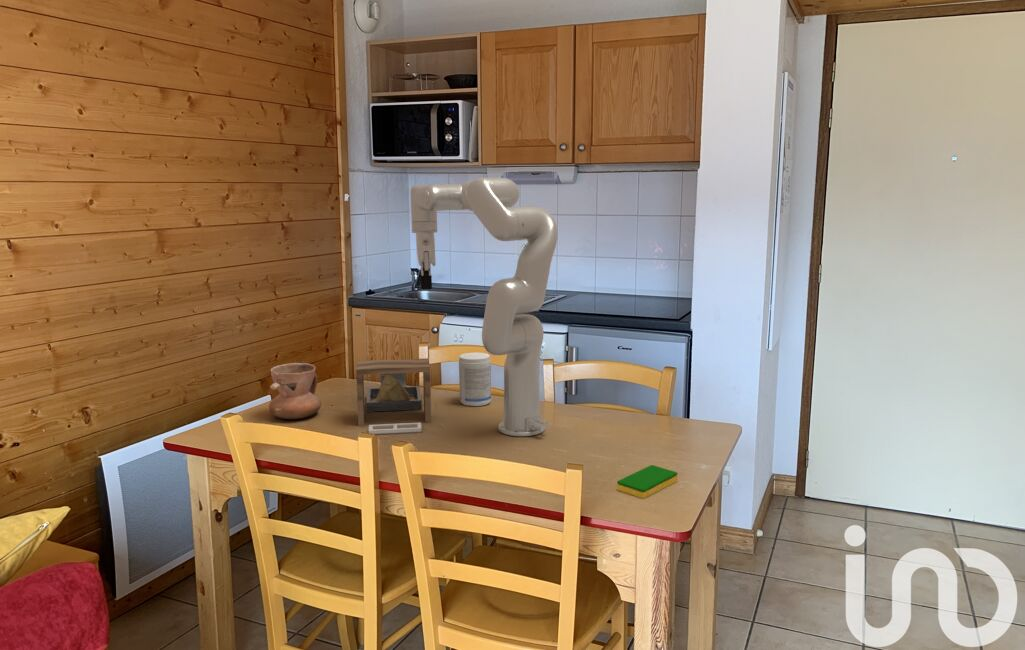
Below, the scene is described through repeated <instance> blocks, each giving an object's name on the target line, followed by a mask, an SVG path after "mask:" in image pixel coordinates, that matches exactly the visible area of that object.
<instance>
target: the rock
mask: <svg viewBox="0 0 1025 650" xmlns="http://www.w3.org/2000/svg"><path fill="white" fill-rule="evenodd" d="M379 388H380V390H379V393H378V395H377V397H375V398H376V399H375V401H396V400H413V399H412V398H411V396H409V393H408V392H407V391H406V390H405V389H404V387H403V386H402V385H401V384H400V383H399V382H398V381H397V380H396V379H394V377H392V376H391V375H386V376H385V378H384V380H383V382H382V384H381V383H380V387H379Z"/></svg>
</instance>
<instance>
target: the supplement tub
mask: <svg viewBox="0 0 1025 650" xmlns="http://www.w3.org/2000/svg"><path fill="white" fill-rule="evenodd" d="M490 356H491V354H490V353H486V352H467V353H462V354H460V355H459V357H458V359H459V360H458V374H459V376H458V377H459V378H458V379H459V381H458V383H459V402H460V404H462V405H463V406H468V407H481V406H486V405H488V404H490V403H491V402H492V375H491V374H492V370H491V369H492V366H491V365H492V364H491V357H490Z"/></svg>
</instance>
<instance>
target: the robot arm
mask: <svg viewBox="0 0 1025 650" xmlns="http://www.w3.org/2000/svg"><path fill="white" fill-rule="evenodd" d="M410 188H411V189H410V212H411V213H410V214H411V215H410V216H411V217H410V218H411V233H412V234H415V242H416V256H417V263H418V265H419V267H420V289H421V290H425V291H426V290H432V289H433V281H432V280H433V279H432V273H431V272H432V266H433V267H435V266H437V263H436V261H437V260H436V239H435V234H436V233H438V212H441V211H464V210H465V211H466V210H467V211H468V210H469V211H471V212H473V214H474V215H475V216H476V218H477V219H478V220H479V222H481V224H482V225H483V227H484V228H485V229H486V230H487V231H488V233H489V234H490V235H491V236H492V237H493V238H494V239H495V240H498V241H501V242H513V241H514V242H515V241H524V240H525V241H527V243H526V244H525V246H524V247H523V249H522V250H521V252H520V254H519V256H518V259H517V265H516V270H515V273H514V276H513V277H509V278H503V279H498V280H497V281H495V282H494V284H493V283H492V285H491V286H490V289H489V290H488V292H487V298H486V302H485V309H484V317H483V321H482V327H481V341H482V345H483V347H484V348H483V349H485V351H486V352H487V354H489V355H493V356H505V355H506V357H505V360H504V365H503V420H502V421H501V422H499V423H498V427H497V428H498V431H499V432H501V433H502V434H504V435H508V436H510V437H511V436H512V437H513V436H514V437H530V436H531V437H533V436H536V435H539V434H541V433H543V432H544V431H545V430H546V428H547V427H548V426H549V422H547V421H543V419H542V418H543V416H542V414H540V364H541V363H540V361H541V360H540V359H541V352H542V345H543V340H544V326H543V324H542V321H540V319H539V318H538V317H536V316H535V315H533V314H529V313H532V312H535V311H538V310H540V309H541V308H542V306H543V305H544V301H545V298H546V293H547V287H548V283H549V282H548V280H549V276H550V270H551V265H552V264H551V263H552V261H553V256H554V253H555V250H556V246H557V243H558V226H557V224H556V223H557V222H556V221H555V218H554V216H553V215H552V214H551V213H550V211H548V210H546V209H545V208H543V207H539V206H531V205H530V206H529V205H527V206H526V205H525V206H515V205H516V203H518V201H519V197H520V189H519V187H518V185H517V183H515V182H514V180H511V179H509V178H507V177H479V178H478V177H477V178H475V179H469V180H468V181H466V182H465V183H438V184H437V183H435V184H426V185H425V184H424V185H422V184H418V185H417V184H416V185H413V186H411V187H410Z"/></svg>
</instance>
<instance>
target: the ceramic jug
mask: <svg viewBox="0 0 1025 650" xmlns="http://www.w3.org/2000/svg"><path fill="white" fill-rule="evenodd" d="M270 375H271V376H270V377H271V378H272V382H273V383H272V384H271V385H270V386H269V387H270V389H271V390H277V391H278V394H277V395H276V396H275V397H273V398H272V399H271V401H269V404H268V409H269V412H270V413H271V414H272V416H274V417H276V418H278V419H283V420H298V419H299V420H300V419H305V418H308V417H310V416H312V415H315V414H316V413H317V412H319V410H320V409H321V406H322V401H321V399H320V397H318V396H317V395H316V394H315V393H316V390H317V386H318V376H317V374H316V366H315V365H314V364H311V363H308V362H293V363H285V364H280V365H279V364H278V365H276V366H273V367H271V368H270Z"/></svg>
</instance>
